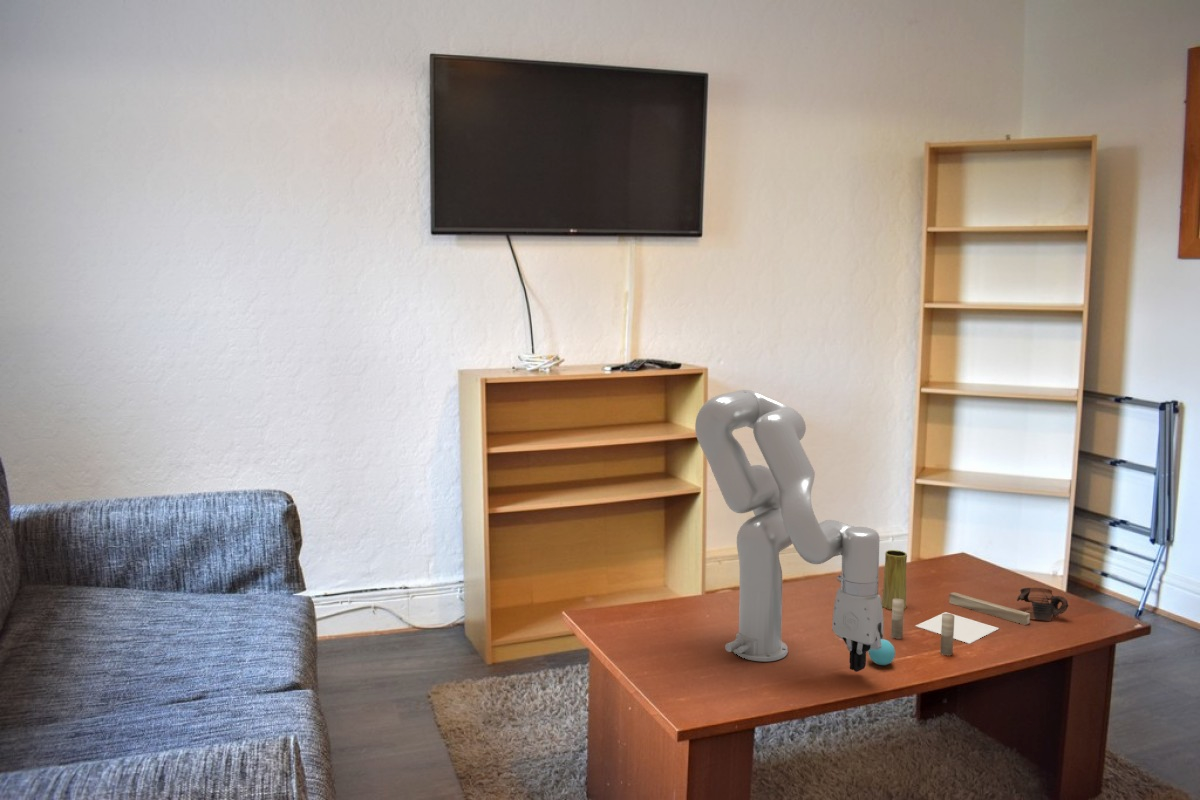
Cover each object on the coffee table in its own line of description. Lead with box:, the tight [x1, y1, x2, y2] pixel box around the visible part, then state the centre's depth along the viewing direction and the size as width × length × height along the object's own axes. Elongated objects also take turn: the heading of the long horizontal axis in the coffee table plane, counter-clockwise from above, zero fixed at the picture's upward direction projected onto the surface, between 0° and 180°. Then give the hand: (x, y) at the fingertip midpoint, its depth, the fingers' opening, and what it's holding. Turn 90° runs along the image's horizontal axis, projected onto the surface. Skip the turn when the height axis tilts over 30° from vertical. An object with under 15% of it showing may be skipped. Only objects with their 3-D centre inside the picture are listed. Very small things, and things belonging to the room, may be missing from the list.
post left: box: [890, 598, 905, 640], centre depth 217 cm, size 3×3×9 cm
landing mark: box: [914, 611, 1000, 645], centre depth 223 cm, size 14×14×1 cm
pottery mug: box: [1016, 587, 1069, 622], centre depth 230 cm, size 12×10×8 cm
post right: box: [939, 612, 955, 657], centre depth 207 cm, size 3×3×9 cm
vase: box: [881, 549, 908, 610], centre depth 236 cm, size 6×6×14 cm
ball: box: [868, 638, 896, 666], centre depth 202 cm, size 6×6×6 cm
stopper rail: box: [948, 591, 1031, 626], centre depth 232 cm, size 2×20×2 cm, turn 40°
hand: (857, 668), depth 196 cm, fingers closed
